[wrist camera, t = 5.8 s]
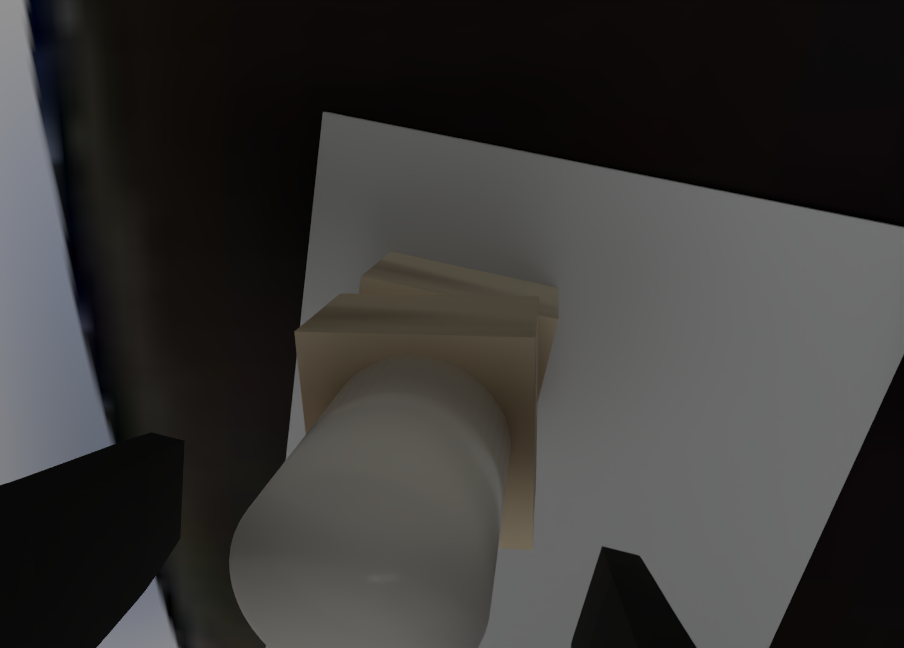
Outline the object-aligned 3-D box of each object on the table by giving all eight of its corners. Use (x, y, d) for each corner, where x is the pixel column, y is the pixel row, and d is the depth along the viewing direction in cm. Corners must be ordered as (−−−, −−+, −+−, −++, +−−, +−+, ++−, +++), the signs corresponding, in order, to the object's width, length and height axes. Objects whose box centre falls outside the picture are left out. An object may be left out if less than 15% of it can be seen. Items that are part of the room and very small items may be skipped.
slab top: (536, 477, 17) (532, 550, 14) (354, 467, 18) (316, 534, 15) (539, 296, 15) (535, 337, 12) (339, 293, 16) (294, 331, 13)
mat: (707, 764, 23) (710, 774, 23) (270, 642, 25) (265, 650, 24) (947, 235, 17) (957, 238, 16) (327, 112, 18) (322, 111, 18)
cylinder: (494, 538, 14) (469, 719, 10) (322, 501, 14) (226, 660, 10) (526, 375, 13) (511, 504, 9) (335, 339, 13) (231, 445, 9)
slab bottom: (520, 438, 20) (515, 491, 17) (368, 401, 20) (337, 448, 18) (558, 287, 18) (558, 319, 15) (390, 251, 19) (361, 275, 16)
